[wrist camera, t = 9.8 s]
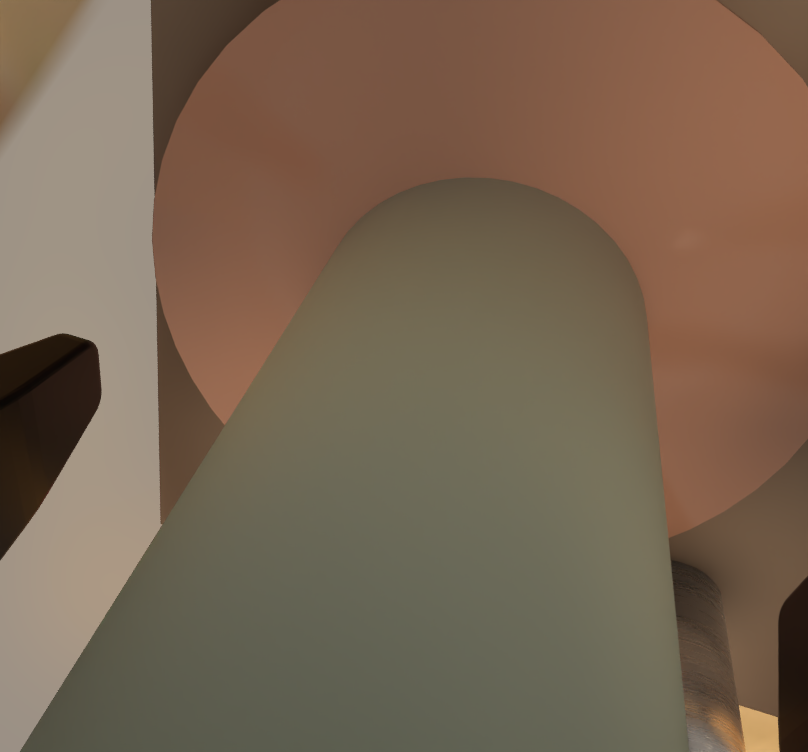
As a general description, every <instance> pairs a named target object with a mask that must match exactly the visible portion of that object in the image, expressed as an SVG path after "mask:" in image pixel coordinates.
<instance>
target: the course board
mask: <svg viewBox="0 0 808 752" xmlns="http://www.w3.org/2000/svg"><path fill="white" fill-rule="evenodd" d="M151 22H152V23H151V24H152V25H151V26H152V80H153V131H154V132H153V133H154V184H155V185H154V187H155V188H154V189H155V198H154V212H153V232H152V244H153V255H154V266H155V277H156V293H157V294H156V297H157V345H158V346H157V349H158V350H157V351H158V402H159V403H158V404H159V459H160V511H161V512H160V513H161V524H163V523H164V522H165V520H166V518H167V517H168V515H169V514H170V512H171V510H172V509H173V507H174V506H175V504H176V502H177V501H178V499H179V498H180V496H181V494H182V493H183V491H184V490H185V488H186V487H187V485H188V483H189V482H190V480H191V479H192V477H193V475H194V474H195V472H196V471H197V469H198V467H199V466H200V464H201V463H202V461H203V459H204V458H205V456H206V455H207V453H208V452H209V450H210V448H211V447H212V445H213V444H214V442H215V440H216V439H217V437H218V436H219V434H220V432H221V431H222V429H223V428H224V426H225V424H226V423H227V421H228V420H229V418H230V417H231V415H232V413H233V412H234V410H235V409H236V407H237V405H238V404H239V402H240V401H241V399H242V397H243V396H244V394H245V393H246V391H247V389H248V388H249V386H250V385H251V383H252V382H253V380H254V378H255V377H256V375H257V374H258V372H259V370H260V369H261V367H262V366H263V364H264V362H265V361H266V359H267V358H268V356H269V354H270V353H271V351H272V350H273V348H274V346H275V345H276V343H277V342H278V340H279V339H280V337H281V335H282V334H283V332H284V331H285V329H286V327H287V326H288V324H289V323H290V321H291V319H292V318H293V316H294V315H295V313H296V311H297V310H298V308H299V307H300V305H301V304H302V302H303V300H304V299H305V297H306V296H307V294H308V292H309V291H310V289H311V288H312V286H313V284H314V283H315V281H316V280H317V278H318V276H319V275H320V273H321V272H322V270H323V269H324V267H325V265H326V264H327V262H328V261H329V259H330V257H331V256H332V254H333V253H334V251H335V249H336V248H337V246H338V245H339V243H340V242H341V241H342V239H343V238H344V236H345V235H346V234H347V232H348V231H349V230H350V229H351V228H352V227H353V226H354V225H355V223H356V222H357V221H358V220H359V219H360V218H361V217H362V216H364V215H365V214H366V213H368V212H369V211H370V210H371V209H373V208H374V207H375V206H377V205H378V204H380V203H381V202H383V201H385V200H387V199H388V198H390V197H392V196H394V195H396V194H397V193H400V192H402V191H405V190H408V189H410V188H413V187H415V186H418V185H422V184H426V183H430V182H434V181H438V180H445V179H454V178H464V177H467V178H492V179H499V180H506V181H512V182H516V183H520V184H523V185H527V186H530V187H534V188H537V189H540V190H542V191H544V192H547V193H549V194H551V195H554V196H556V197H559V198H560V199H562V200H564V201H565V202H567V203H569V204H571V205H572V206H574V207H576V208H577V209H579V210H581V211H582V212H583V213H584V214H586V215H587V216H588V217H590V218H591V219H592V220H593V221H595V222H596V223H597V224H599V226H600V227H601V228H602V229H603V230H604V231H605V232H606V233H607V234H608V235H609V236H610V237H611V238H612V239H613V240H614V241H615V242H616V244H617V245H618V247H619V248H620V249H621V251H622V252H623V253H624V255H625V256H626V258H627V259H628V261H629V263H630V265H631V267H632V269H633V271H634V273H635V275H636V277H637V279H638V282H639V285H640V288H641V291H642V294H643V297H644V303H645V309H646V315H647V324H648V334H649V344H650V354H651V364H652V375H653V385H654V395H655V405H656V415H657V426H658V436H659V446H660V456H661V467H662V477H663V487H664V497H665V507H666V518H667V528H668V538H669V548H670V559H671V560H674V561H678V562H682V563H685V564H687V565H690V566H692V567H695V568H697V569H699V570H700V571H702V572H704V573H705V574H706V575H708V576H709V577H710V578H711V579H712V580H713V581H714V582H715V583H716V585H717V586H718V588H719V590H720V592H721V596H722V602H723V608H724V615H725V621H726V628H727V634H728V640H729V647H730V653H731V660H732V666H733V673H734V679H735V685H736V692H737V698H738V705H741V706H744V707H747V708H750V709H754V710H757V711H760V712H763V713H766V714H770V715H773V716H776V717H778V619H779V613H780V610H781V607H782V605H783V603H784V601H785V600H786V599H787V598H788V597H789V595H790V594H791V593H792V592H793V591H794V590H795V589H796V588H797V587H798V586H799V585H800V583H801V582H802V581H803V580H804V579H805V578H806V577H807V576H808V0H151Z"/></svg>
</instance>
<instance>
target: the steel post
mask: <svg viewBox="0 0 808 752" xmlns="http://www.w3.org/2000/svg"><path fill="white" fill-rule="evenodd" d="M671 569H672V579H673V589H674V599H675V610H676V620H677V630H678V640H679V650H680V661H681V671H682V681H683V691H684V702H685V712H686V722H687V732H688V742H689V752H746V750H745V743H744V737H743V731H742V724H741V718H740V711H739V705H738V698H737V692H736V685H735V679H734V673H733V666H732V660H731V653H730V647H729V640H728V634H727V628H726V621H725V615H724V608H723V602H722V596H721V592H720V590H719V588H718V586H717V585H716V583H715V582H714V581H713V580H712V579H711V578H710V577H709V576H708V575H706V574H705V573H704V572H702V571H700V570H699V569H697V568H695V567H692V566H690V565H687V564H685V563H682V562H678V561H674V560H671Z"/></svg>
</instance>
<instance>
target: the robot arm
mask: <svg viewBox="0 0 808 752" xmlns="http://www.w3.org/2000/svg"><path fill="white" fill-rule="evenodd" d="M100 399H101V380H100V367H99V355H98V349H97V347H96V345H95V344H94V343H93V342H91V341H89V340H86V339H83V338H79V337H76V336H73V335H69V334H57V335H54V336H51V337H48V338H45V339H42V340H40V341H37V342H34V343H31V344H28V345H25V346H23V347H20V348H17V349H14V350H11V351H8V352H6V353H3V354H0V560H1V559H2V558H3V556H4V555H5V554H6V552H7V551H8V549H9V548H10V547H11V545H12V544H13V543H14V541H15V540H16V539H17V537H18V536H19V535H20V533H21V532H22V531H23V529H24V528H25V526H26V525H27V524H28V523H29V521H30V520H31V518H32V517H33V516H34V514H35V513H36V511H37V510H38V508H39V507H40V505H41V504H42V502H43V501H44V499H45V497H46V496H47V494H48V493H49V491H50V489H51V487H52V486H53V484H54V482H55V481H56V479H57V477H58V475H59V474H60V472H61V470H62V469H63V467H64V465H65V464H66V462H67V460H68V458H69V457H70V455H71V453H72V452H73V450H74V448H75V446H76V445H77V443H78V441H79V440H80V438H81V436H82V434H83V433H84V431H85V429H86V428H87V426H88V424H89V423H90V421H91V419H92V417H93V416H94V414H95V412H96V410H97V408H98V406H99V403H100ZM778 728H779V748H780V752H808V576H807V577H806V578H805V579H804V580H803V581H802V582H801V583H800V585H799V586H798V587H797V588H796V589H795V590H794V591H793V592H792V593H791V594H790V595H789V597H788V598H787V599H786V600H785V601H784V603H783V605H782V607H781V610H780V613H779V619H778Z"/></svg>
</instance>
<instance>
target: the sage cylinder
mask: <svg viewBox="0 0 808 752" xmlns="http://www.w3.org/2000/svg"><path fill="white" fill-rule="evenodd" d="M20 752H689V742H688V732H687V722H686V712H685V702H684V691H683V681H682V671H681V661H680V650H679V640H678V630H677V620H676V610H675V599H674V589H673V579H672V569H671V559H670V548H669V538H668V528H667V518H666V507H665V497H664V487H663V477H662V467H661V456H660V446H659V436H658V426H657V415H656V405H655V395H654V385H653V375H652V364H651V354H650V344H649V334H648V324H647V315H646V309H645V303H644V297H643V294H642V291H641V288H640V285H639V282H638V279H637V277H636V275H635V273H634V271H633V269H632V267H631V265H630V263H629V261H628V259H627V258H626V256H625V255H624V253H623V252H622V251H621V249H620V248H619V247H618V245H617V244H616V242H615V241H614V240H613V239H612V238H611V237H610V236H609V235H608V234H607V233H606V232H605V231H604V230H603V229H602V228H601V227H600V226H599V224H597V223H596V222H595V221H593V220H592V219H591V218H590V217H588V216H587V215H586V214H584V213H583V212H582V211H581V210H579V209H577V208H576V207H574V206H572V205H571V204H569V203H567V202H565V201H564V200H562V199H560V198H559V197H556V196H554V195H551V194H549V193H547V192H544V191H542V190H540V189H537V188H534V187H530V186H527V185H523V184H520V183H516V182H512V181H506V180H499V179H492V178H467V177H464V178H454V179H445V180H438V181H434V182H430V183H426V184H422V185H418V186H415V187H413V188H410V189H408V190H405V191H402V192H400V193H397V194H396V195H394V196H392V197H390V198H388V199H387V200H385V201H383V202H381V203H380V204H378V205H377V206H375V207H374V208H373V209H371V210H370V211H369V212H368V213H366V214H365V215H364V216H362V217H361V218H360V219H359V220H358V221H357V222H356V223H355V225H354V226H353V227H352V228H351V229H350V230H349V231H348V232H347V234H346V235H345V236H344V238H343V239H342V241H341V242H340V243H339V245H338V246H337V248H336V249H335V251H334V253H333V254H332V256H331V257H330V259H329V261H328V262H327V264H326V265H325V267H324V269H323V270H322V272H321V273H320V275H319V276H318V278H317V280H316V281H315V283H314V284H313V286H312V288H311V289H310V291H309V292H308V294H307V296H306V297H305V299H304V300H303V302H302V304H301V305H300V307H299V308H298V310H297V311H296V313H295V315H294V316H293V318H292V319H291V321H290V323H289V324H288V326H287V327H286V329H285V331H284V332H283V334H282V335H281V337H280V339H279V340H278V342H277V343H276V345H275V346H274V348H273V350H272V351H271V353H270V354H269V356H268V358H267V359H266V361H265V362H264V364H263V366H262V367H261V369H260V370H259V372H258V374H257V375H256V377H255V378H254V380H253V382H252V383H251V385H250V386H249V388H248V389H247V391H246V393H245V394H244V396H243V397H242V399H241V401H240V402H239V404H238V405H237V407H236V409H235V410H234V412H233V413H232V415H231V417H230V418H229V420H228V421H227V423H226V424H225V426H224V428H223V429H222V431H221V432H220V434H219V436H218V437H217V439H216V440H215V442H214V444H213V445H212V447H211V448H210V450H209V452H208V453H207V455H206V456H205V458H204V459H203V461H202V463H201V464H200V466H199V467H198V469H197V471H196V472H195V474H194V475H193V477H192V479H191V480H190V482H189V483H188V485H187V487H186V488H185V490H184V491H183V493H182V494H181V496H180V498H179V499H178V501H177V502H176V504H175V506H174V507H173V509H172V510H171V512H170V514H169V515H168V517H167V518H166V520H165V522H164V523H163V525H162V526H161V528H160V530H159V531H158V533H157V535H156V536H155V537H154V539H153V541H152V542H151V544H150V545H149V547H148V549H147V550H146V552H145V554H144V555H143V557H142V558H141V560H140V561H139V563H138V564H137V566H136V568H135V570H134V571H133V573H132V574H131V576H130V577H129V579H128V580H127V582H126V584H125V585H124V587H123V588H122V590H121V592H120V593H119V595H118V596H117V598H116V600H115V601H114V603H113V604H112V606H111V607H110V609H109V611H108V612H107V614H106V615H105V617H104V619H103V620H102V622H101V624H100V625H99V627H98V628H97V630H96V631H95V633H94V635H93V636H92V638H91V639H90V641H89V643H88V644H87V646H86V648H85V649H84V650H83V652H82V654H81V655H80V657H79V658H78V660H77V662H76V663H75V665H74V667H73V668H72V670H71V671H70V673H69V674H68V676H67V678H66V679H65V681H64V682H63V684H62V686H61V687H60V689H59V690H58V692H57V693H56V695H55V697H54V698H53V700H52V701H51V703H50V705H49V706H48V708H47V709H46V711H45V713H44V714H43V716H42V717H41V719H40V720H39V722H38V724H37V725H36V727H35V728H34V730H33V732H32V733H31V735H30V736H29V738H28V740H27V741H26V743H25V744H24V746H23V747H22V749H21V751H20Z"/></svg>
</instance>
